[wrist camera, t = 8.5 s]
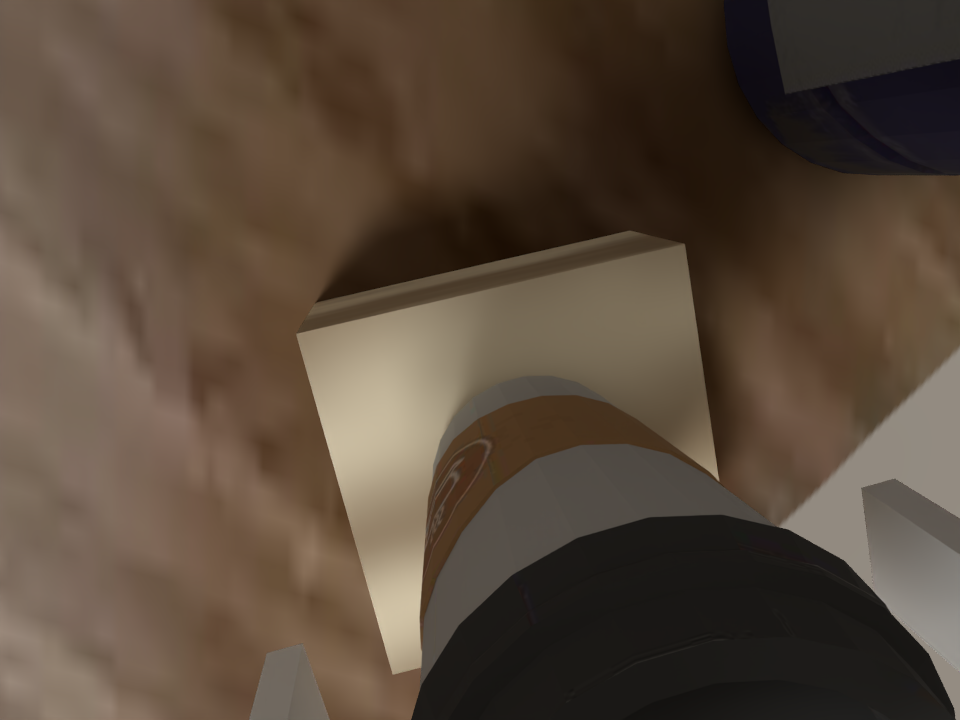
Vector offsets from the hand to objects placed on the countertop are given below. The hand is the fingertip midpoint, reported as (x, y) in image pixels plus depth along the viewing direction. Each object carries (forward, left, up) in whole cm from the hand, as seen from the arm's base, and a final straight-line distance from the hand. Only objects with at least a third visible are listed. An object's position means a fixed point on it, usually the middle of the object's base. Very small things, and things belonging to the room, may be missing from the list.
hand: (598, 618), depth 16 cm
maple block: (0, 0, -14) cm, 14 cm away
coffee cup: (0, 0, -9) cm, 9 cm away
